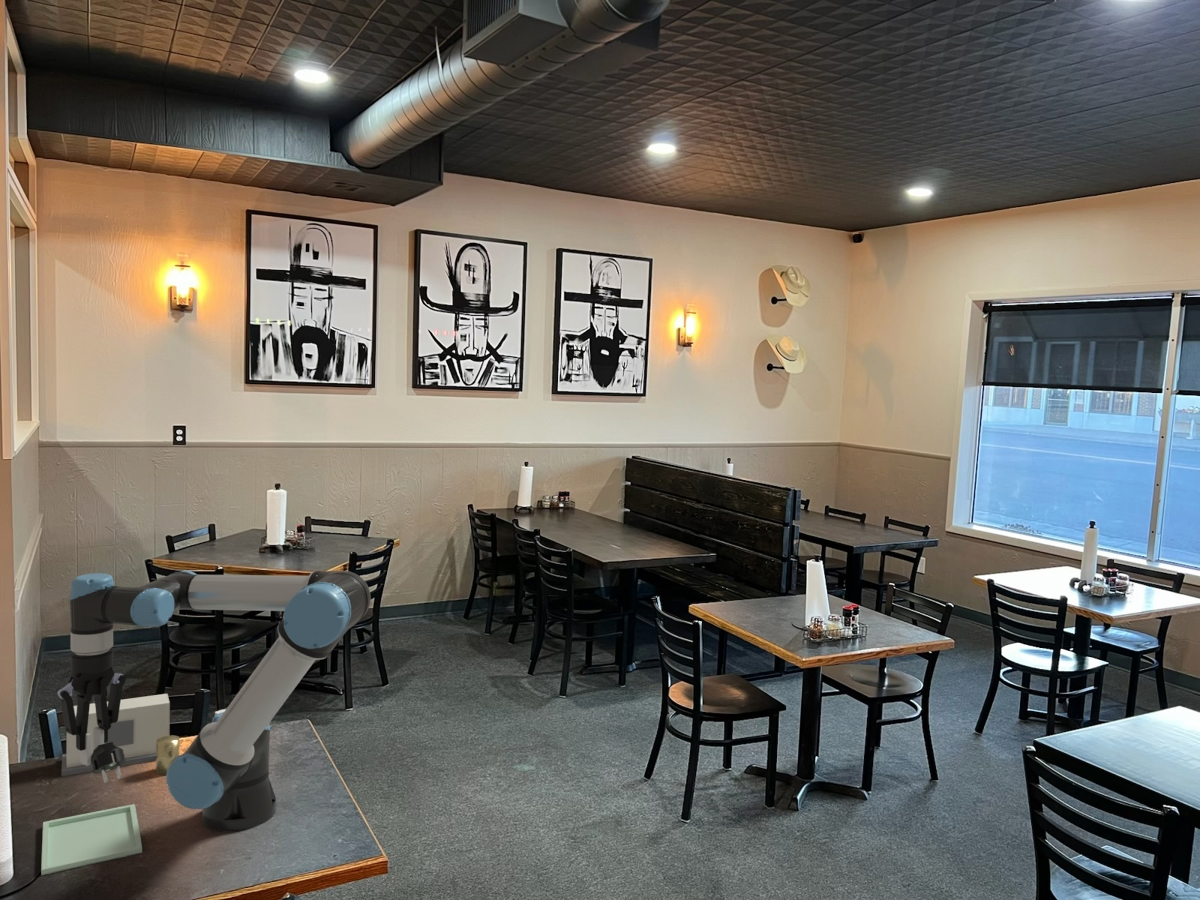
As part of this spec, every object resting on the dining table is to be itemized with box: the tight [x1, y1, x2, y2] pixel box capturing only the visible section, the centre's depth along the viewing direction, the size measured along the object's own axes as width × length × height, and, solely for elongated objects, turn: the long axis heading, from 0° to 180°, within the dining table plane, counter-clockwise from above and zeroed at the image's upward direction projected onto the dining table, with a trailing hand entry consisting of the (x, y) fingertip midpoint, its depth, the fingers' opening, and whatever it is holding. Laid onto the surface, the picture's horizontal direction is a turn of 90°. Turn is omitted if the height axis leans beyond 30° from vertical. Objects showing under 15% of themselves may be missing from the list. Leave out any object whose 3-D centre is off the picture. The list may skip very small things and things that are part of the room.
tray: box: [40, 803, 143, 877], centre depth 175 cm, size 20×17×2 cm
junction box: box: [61, 693, 171, 777], centre depth 212 cm, size 24×10×14 cm, turn 121°
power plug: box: [89, 742, 126, 783], centre depth 173 cm, size 6×8×12 cm
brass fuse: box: [155, 734, 180, 776], centre depth 207 cm, size 5×5×8 cm
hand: (92, 761), depth 176 cm, fingers closed on power plug, 2 cm apart
